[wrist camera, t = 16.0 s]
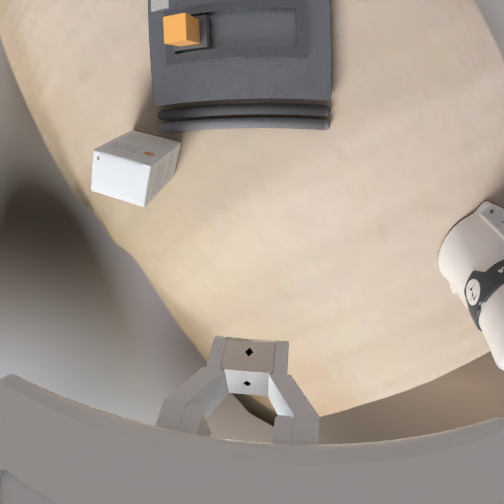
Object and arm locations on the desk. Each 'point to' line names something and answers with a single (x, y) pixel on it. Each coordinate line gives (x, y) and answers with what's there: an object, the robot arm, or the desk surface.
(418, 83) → the desk surface
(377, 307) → the desk surface
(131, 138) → the small box
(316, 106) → the twin grey rods
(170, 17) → the lever
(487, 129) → the desk surface
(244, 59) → the breaker panel
